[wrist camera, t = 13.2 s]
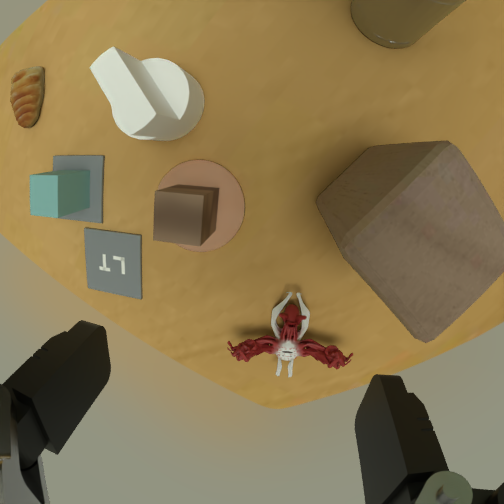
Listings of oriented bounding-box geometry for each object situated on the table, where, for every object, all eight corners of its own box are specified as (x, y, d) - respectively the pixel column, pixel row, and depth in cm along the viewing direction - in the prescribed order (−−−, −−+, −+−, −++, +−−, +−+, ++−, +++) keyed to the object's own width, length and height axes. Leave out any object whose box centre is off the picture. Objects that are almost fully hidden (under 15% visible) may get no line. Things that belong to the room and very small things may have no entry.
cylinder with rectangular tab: (218, 112, 35) (187, 94, 23) (157, 155, 37) (106, 158, 26) (180, 56, 33) (138, 23, 22) (123, 100, 35) (67, 87, 24)
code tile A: (85, 227, 41) (84, 228, 40) (141, 234, 40) (140, 235, 40) (89, 286, 43) (87, 287, 43) (142, 298, 43) (141, 299, 42)
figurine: (355, 289, 39) (366, 313, 33) (339, 364, 42) (344, 395, 36) (236, 278, 40) (226, 301, 34) (232, 355, 44) (224, 385, 37)
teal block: (62, 169, 38) (29, 175, 32) (90, 170, 38) (57, 175, 31) (62, 204, 40) (30, 214, 33) (89, 207, 39) (58, 218, 33)
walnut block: (178, 184, 37) (154, 191, 30) (219, 188, 37) (203, 195, 30) (175, 225, 39) (153, 240, 32) (215, 230, 38) (200, 246, 31)
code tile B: (55, 155, 38) (53, 155, 38) (104, 155, 38) (102, 155, 37) (54, 216, 41) (53, 217, 41) (103, 222, 40) (101, 223, 40)
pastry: (48, 120, 37) (31, 119, 33) (20, 133, 38) (4, 134, 34) (47, 64, 34) (30, 60, 31) (19, 80, 36) (3, 78, 32)
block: (366, 260, 38) (425, 353, 19) (311, 200, 37) (334, 250, 17) (424, 205, 35) (525, 254, 16) (372, 142, 34) (455, 133, 15)
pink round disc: (159, 157, 37) (157, 157, 36) (249, 164, 36) (249, 164, 35) (155, 244, 40) (153, 245, 40) (240, 255, 39) (239, 257, 39)
